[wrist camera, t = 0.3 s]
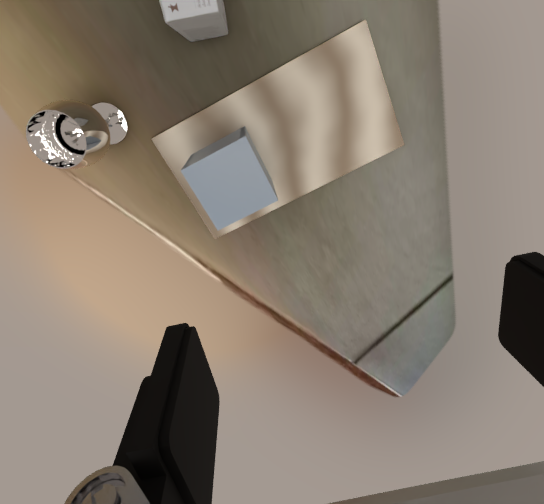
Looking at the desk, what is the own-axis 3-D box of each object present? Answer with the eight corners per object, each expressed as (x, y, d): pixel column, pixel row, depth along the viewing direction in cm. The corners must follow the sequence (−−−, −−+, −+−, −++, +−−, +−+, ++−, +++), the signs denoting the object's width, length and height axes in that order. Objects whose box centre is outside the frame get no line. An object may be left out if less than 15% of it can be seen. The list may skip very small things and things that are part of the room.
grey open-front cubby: (191, 154, 41) (180, 170, 33) (244, 125, 40) (245, 135, 33) (221, 205, 44) (217, 230, 36) (272, 180, 43) (278, 200, 36)
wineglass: (86, 150, 41) (30, 175, 30) (74, 96, 38) (8, 102, 27) (137, 149, 41) (100, 174, 30) (128, 95, 38) (84, 101, 28)
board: (215, 236, 46) (214, 239, 45) (153, 137, 40) (151, 138, 40) (400, 143, 43) (404, 144, 42) (362, 21, 37) (365, 19, 36)
